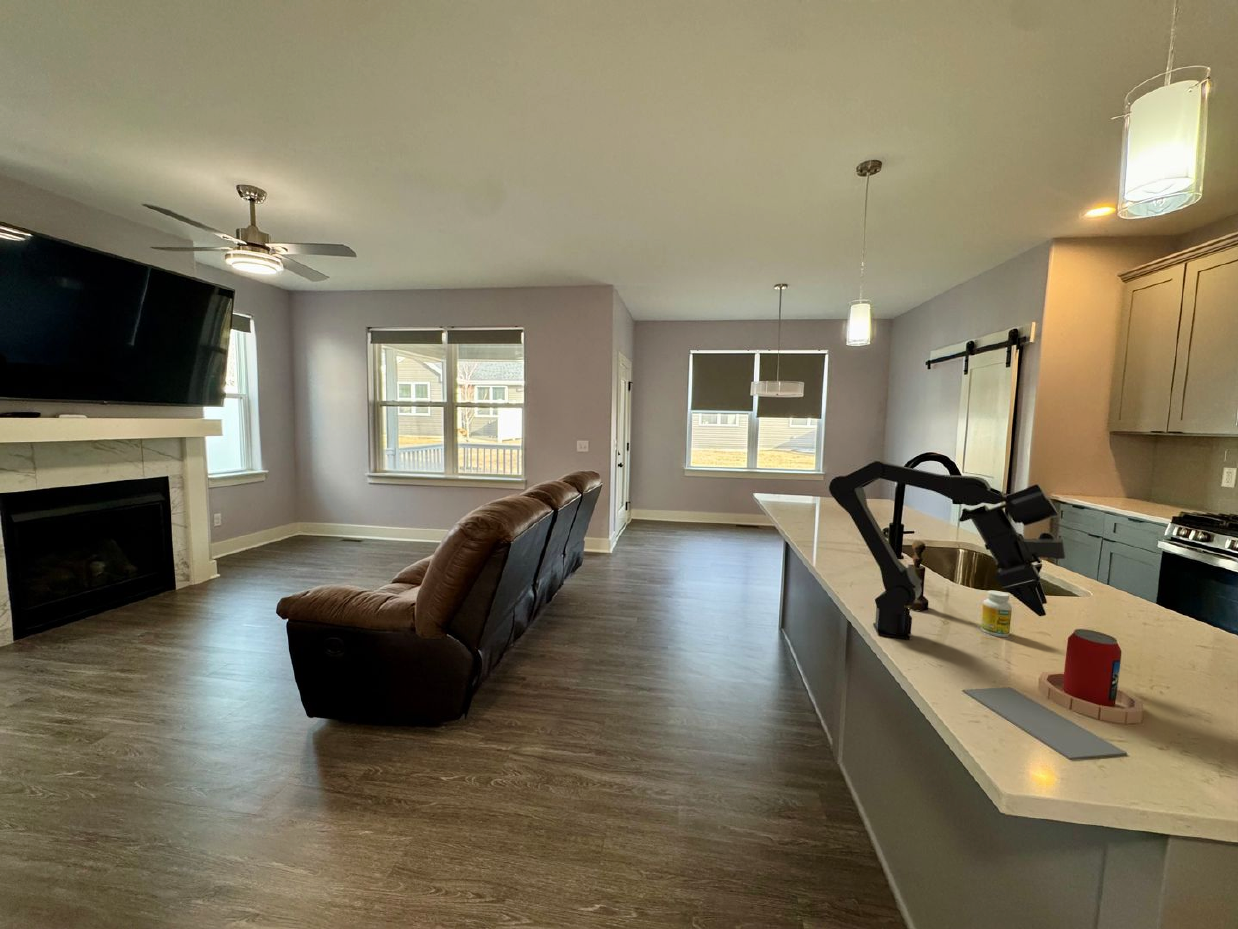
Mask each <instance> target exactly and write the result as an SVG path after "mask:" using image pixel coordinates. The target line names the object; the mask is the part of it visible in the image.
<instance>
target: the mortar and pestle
mask: <svg viewBox="0 0 1238 929" xmlns="http://www.w3.org/2000/svg"><path fill="white" fill-rule="evenodd" d="M911 548H912V549H913V552H914V555H913V556H912V562H913V564H910V563H909V564H908V565H907V567H909V566H911V565H912V566H913V568H914V570H915V572H916V575H917V576H918V578H919V579H921V580H922V582H921V583H920V584H921V587H922V591H921V594H920V596H919V597H918V598H917V599H916V600H915V601H914V602H913V603H912V604H911V605H909V606H907V608H909V610H911V609H914V610H913V611H916V610H920V611H919V612H924V610H926V611H928V610H929V600H928V598H927V597H925V596H924V591H925V590H924V589H925V578H926V577H925V575H926V566H923V565H921V564H922V562H923V556H922V553H923V552H924V551H925V549H926V544H925V542H924V541H922V540H915V541H913V542H912V545H911Z"/></svg>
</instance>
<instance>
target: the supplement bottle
mask: <svg viewBox="0 0 1238 929" xmlns="http://www.w3.org/2000/svg"><path fill="white" fill-rule="evenodd" d="M1009 600H1010V594H1008V593H1006V592H1003V591H999V590H987V598H986V599H984V600H983V602H982V614H981V625H980V627H981V630H982V632H983V633H985V632H986V633H985V634H989V635H991V636H995V637H1000V638H1002V637H1003V638H1007V637H1009V635H1010V632H1011V622H1012V612H1013V611H1012V610H1013V607H1012V605H1011V603H1009Z"/></svg>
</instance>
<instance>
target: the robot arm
mask: <svg viewBox="0 0 1238 929" xmlns="http://www.w3.org/2000/svg"><path fill="white" fill-rule="evenodd" d="M880 479H881V480H886V481H889V482H894V483H898V484H902V485H906V486H911V487H915V488H919V489H924V490H926V491H927V490H928V491H932V492H933V493H936V494H940V495H941V496H944V497H945V498H948V499H950V500H952V501H955V502H957V503H960V504H963V505H965V506H971V507H973V506H974V507H975V506H979V505H981V504H984V505H982V506H979V507H975V508H972V509H969V508H966V507H964V508H963V509H962V512H961V516H960V517H959V518H958V520H959V522H960V523H963V522H966V521H969V520H971V522H972V523H973V525H974V526H975V528H976V530H977V532H978V534H979V535H980V537H981V539H982V541H983V542H984V543H985V544H984V545H983V546H984V548H985V549H986V550H987V551H989V552H990V554H991V555H992V557H993V559H994V561H995V562H996V563H995V566H996V568H997V572H996V574H995V576H994V579H995V581H996V582H997V584H998V586H999V587H1000V588H1002V589H1003V590H1004V591H1006V592H1008V593H1009V595H1012V596H1013V597H1014V598H1016V599H1017V600H1018V601H1019V602H1021V603H1022V604H1023V605H1024V606H1026V607H1027V608H1029V609H1030V610H1031V611H1032V612H1033V613H1035V614H1036V615H1037V616H1038V617H1045V616H1046V615H1047V612H1046V610H1045V608H1044V605H1047V603H1048V600H1047V598H1046V594H1045V591H1044V588H1043V586H1042V583H1041V575H1040V572H1041V570H1042V568H1043V563H1042V561H1043V560H1042V558H1043V559H1044V558H1049V559H1051V558H1052V559H1055V560H1056V559H1057V560H1062V559H1066V553H1065V552H1066V551H1065V546H1064V539H1062V538H1060V537H1058V538H1056V537H1055V536H1054V535H1053V534H1052V532H1041V533H1040V535H1039V536H1038V538H1035V537H1034V538H1025V537H1024V535H1023V534H1022V533H1019V532H1017V530H1016V528H1015V527H1014V525H1013V524H1012V522H1011V521H1010V519H1009V517H1010V518H1011V519H1012V521H1013V522H1014V523H1015V524H1021V523H1022V524H1023V526H1025V527H1026V526H1029V525H1033V524H1036V523H1039V522H1043V521H1046V520H1049V519H1052V518H1056V517H1060V514H1059V512H1058V510H1057V509H1056V507H1055V505H1054V503H1053V502H1052V500H1051V499H1050V497H1048V496H1047V495H1046V494H1045V492H1044V491H1043V489H1042V488H1041V487H1040V485H1039V484H1038V483H1035V484H1032V485H1029V486H1028V487H1027V488H1024V489H1021V490H1018V491H1015V492H1013V493H1009V494H1008V493H1005V492H1004V491H1000V490H998V489H996V488H994V487H992V486H991V485H990V483H989V482H988V481H987V480H986V479H984V477H983V478H982V477H980V476H972V475H971V476H969V475H959V474H958V475H955V474H954V475H953V474H940V473H936V472H935V473H934V472H930V471H926V470H921V469H918V468H917V469H916V468H912V467H907V466H904V465H903V466H902V465H899V464H893V463H888V462H886V461H884V460H874V461H873V460H872V461H871V462H869V463H868V464H867V465H865V466H863V467H861V468H859V469H857V470H856V471H853V472H851V473H850V474H845V475H839V476H836V477H833V479H832V480H831V481H830V482H829V486H828V491H829V494H830V495H831V497H832V498H833V499H834V500H835V501H836V503H837V504H838V505H839V506H840V507H841V508H842V509H843V510H845V512H847V514H849V516H850V518H851V520H852V521H853V523H854V524H855V526H856V528H857V529H858V532H859V534H860V535H861V537H862V540H863V541H864V542H865V544H866V546H867V548H868V550H869V552H870V553H871V555H872V556H873V558H874V560H875V562H876V564H877V565H878V567H879V570H880V573H881V580H882V585H883V587H884V591H883V592H882V593H880V595H878V596H877V597H876V598H875V599H874V601H875V606H876V608H875V609H876V611H875V621H874V622H873V624H872V625H873V628H874V630H875V631H876V633H877V635H878V636H881V637H888V638H894V639H895V638H896V639H902V640H908V641H909V640H911V636H910V635H911V634H912V624H913V623H912V622H913V617H912V616H911V615H910V614H911V609H908V608H907V606H909V605H911V604H912V603H913V602H914V601H915V600H916V599H917V598H918V597H919V596H920V594H921V591H922V587H921V584H920V583H921V582H922V580H921V579H919V578H918V576H917V575H916V572H915V570H914V568H913V566H912V565H911V566H909V567H908V566H905V564H903V563H902V562H901V561H900V560H899V558H898V557H897V555H896V553H895V551H894V550H893V548H892V546H891V544H890V543H889V540H888V539H887V537H886V536H885V534H884V532H883V531H882V529H881V527H880V526H879V524H878V522H877V520H876V519H875V517H874V515H873V513H872V511H871V510H870V508H869V506H868V501H867V495H866V492H865V489H864V488H865V487H867V486H870V485H872V483H874V482H876V481H877V480H880ZM1004 502H1005V503H1004ZM1000 503H1004V504H1000ZM985 504H988V505H997V504H1000V505H998V506H995V507H992V508H989V507H988V506H987V505H985ZM1004 509H1006V510H1007V513H1008V514H1009V517H1008V516H1007V513H1006V512H1005V510H1004ZM1035 563H1037V564H1035Z"/></svg>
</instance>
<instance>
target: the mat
mask: <svg viewBox="0 0 1238 929" xmlns="http://www.w3.org/2000/svg"><path fill="white" fill-rule="evenodd" d="M961 691H962V693H963V694H966V695H968V697H971V698H972V699H973V700H975V701H977V702H978V703H980V704H982V705H983V706H985V707H986V708H987V709H989V710H991V711H992V712H994V713H995V714H997V715H999V716H1001V717H1002V718H1003V719H1005V720H1006V721H1008V722H1010V723H1011V724H1013V725H1015V726H1017V727H1018V728H1019V729H1021V730H1022V731H1024V732H1025V733H1026V734H1027V733H1028V734H1029V735H1030V736H1031V737H1032V738H1033V737H1034V738H1035V739H1036V740H1039V742H1041V743H1042V744H1044V745H1045V746H1047V747H1049V748H1051V749H1052V750H1053V751H1055V752H1057V753H1058V754H1060V755H1062V756H1063V757H1065V758H1066V759H1067V760H1078V759H1092V758H1093V759H1095V758H1103V757H1114V756H1115V757H1116V756H1126V755H1127V754H1128V753H1127V752H1126V751H1125V750H1123V749H1121V748H1120V747H1118V746H1116V745H1114V744H1113V743H1111V742H1109V741H1107V740H1105V739H1103V738H1102V737H1100V736H1098V735H1097V734H1095V733H1093V732H1091V731H1090V730H1087V729H1086V728H1084V727H1083V726H1080V725H1078V724H1077V723H1075V722H1073V721H1071V720H1070V719H1067V717H1064V716H1063V715H1060V714H1058V713H1057V712H1056V711H1054V710H1052V709H1050V708H1048V707H1046V706H1045V705H1043V704H1042V703H1039V702H1038V701H1036V700H1034V699H1032V698H1031V697H1029V696H1027V695H1026V694H1024V693H1022V692H1020V691H1018V690H1017V689H1014V688H1013V687H1011V686H1008V687H1007V686H1005V687H1002V686H1001V687H987V688H984V687H983V688H971V689H970V688H969V689H962V690H961Z"/></svg>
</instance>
